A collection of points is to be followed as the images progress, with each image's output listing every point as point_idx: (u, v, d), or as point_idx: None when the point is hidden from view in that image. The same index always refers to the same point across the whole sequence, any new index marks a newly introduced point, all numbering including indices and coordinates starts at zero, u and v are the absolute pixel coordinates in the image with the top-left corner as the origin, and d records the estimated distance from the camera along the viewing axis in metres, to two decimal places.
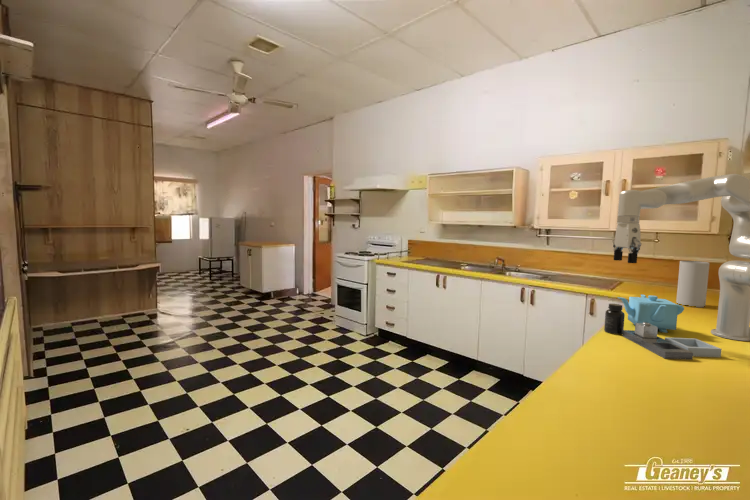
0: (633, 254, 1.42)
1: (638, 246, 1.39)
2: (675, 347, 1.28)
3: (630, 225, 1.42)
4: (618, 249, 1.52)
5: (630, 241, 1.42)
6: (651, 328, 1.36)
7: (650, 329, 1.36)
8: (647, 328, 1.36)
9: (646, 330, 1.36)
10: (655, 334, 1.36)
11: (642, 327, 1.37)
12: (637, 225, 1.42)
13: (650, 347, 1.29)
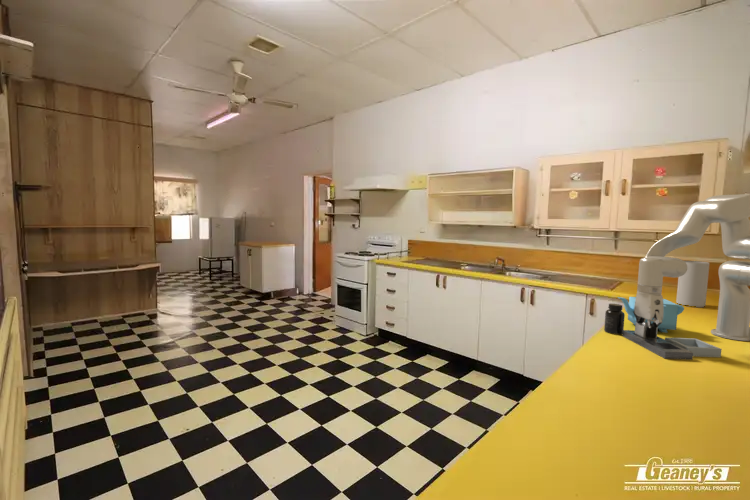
0: (652, 329, 1.34)
1: (658, 324, 1.32)
2: (675, 347, 1.28)
3: (652, 296, 1.33)
4: (641, 320, 1.41)
5: (652, 317, 1.33)
6: None
7: None
8: None
9: None
10: None
11: (642, 327, 1.37)
12: (660, 297, 1.33)
13: (650, 347, 1.29)
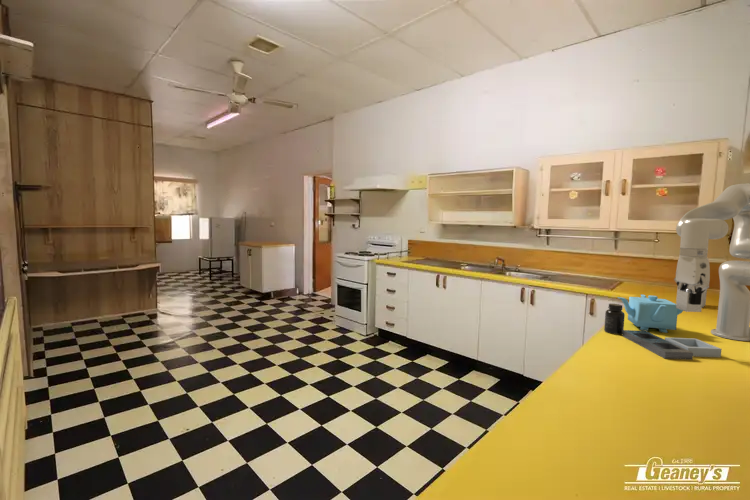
0: (697, 295, 1.26)
1: (704, 288, 1.23)
2: (675, 347, 1.28)
3: (697, 259, 1.25)
4: (683, 287, 1.32)
5: (697, 281, 1.25)
6: None
7: None
8: None
9: (690, 296, 1.27)
10: None
11: (685, 293, 1.28)
12: (706, 260, 1.24)
13: (650, 347, 1.29)
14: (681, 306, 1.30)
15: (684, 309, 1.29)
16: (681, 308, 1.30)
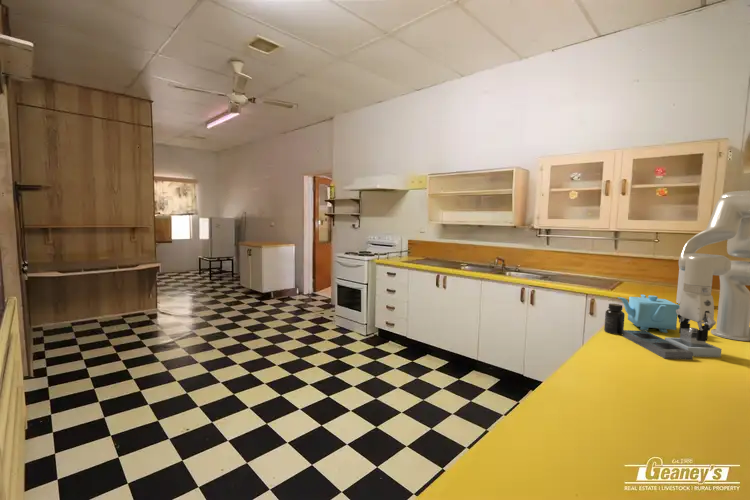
0: (704, 331, 1.24)
1: (711, 325, 1.22)
2: (675, 347, 1.28)
3: (702, 296, 1.24)
4: (685, 321, 1.33)
5: (702, 317, 1.24)
6: None
7: None
8: (695, 334, 1.27)
9: (694, 336, 1.27)
10: None
11: (689, 333, 1.28)
12: (710, 297, 1.24)
13: (650, 347, 1.29)
14: None
15: None
16: None
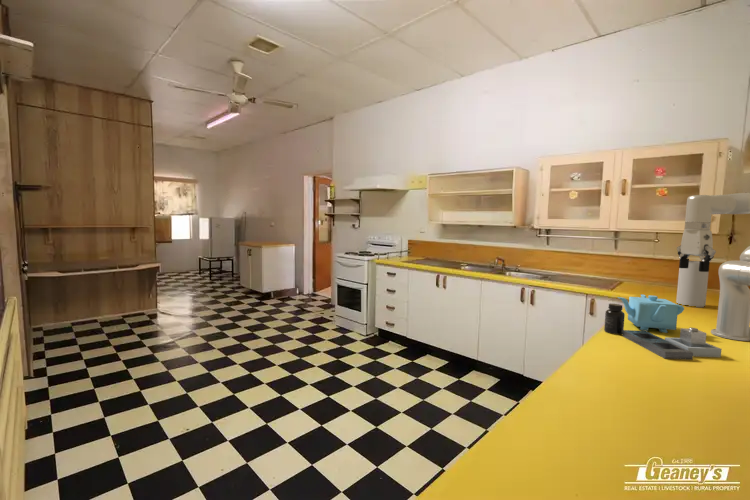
0: (705, 262, 1.35)
1: (712, 254, 1.32)
2: (675, 347, 1.28)
3: (701, 231, 1.36)
4: (684, 256, 1.45)
5: (702, 249, 1.35)
6: (699, 334, 1.27)
7: (698, 335, 1.27)
8: (695, 334, 1.27)
9: (694, 336, 1.27)
10: (703, 340, 1.27)
11: (689, 333, 1.28)
12: (709, 232, 1.35)
13: (650, 347, 1.29)
14: None
15: None
16: None
